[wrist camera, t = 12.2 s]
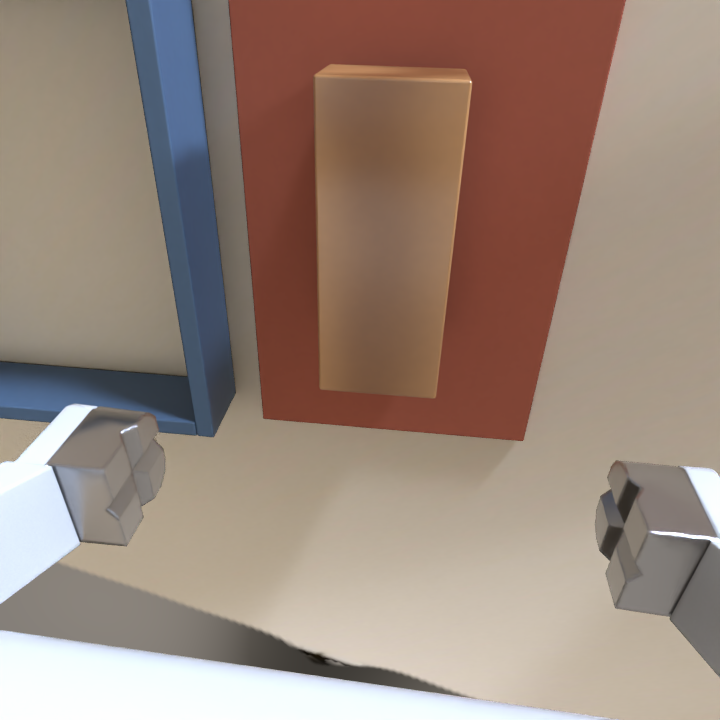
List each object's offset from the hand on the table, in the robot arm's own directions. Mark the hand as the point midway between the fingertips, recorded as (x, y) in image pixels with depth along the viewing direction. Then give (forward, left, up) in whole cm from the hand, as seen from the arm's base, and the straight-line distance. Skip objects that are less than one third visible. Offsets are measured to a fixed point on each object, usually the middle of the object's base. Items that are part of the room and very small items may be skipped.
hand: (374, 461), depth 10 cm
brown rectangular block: (+1, 0, -15) cm, 15 cm away
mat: (0, 0, -15) cm, 15 cm away
